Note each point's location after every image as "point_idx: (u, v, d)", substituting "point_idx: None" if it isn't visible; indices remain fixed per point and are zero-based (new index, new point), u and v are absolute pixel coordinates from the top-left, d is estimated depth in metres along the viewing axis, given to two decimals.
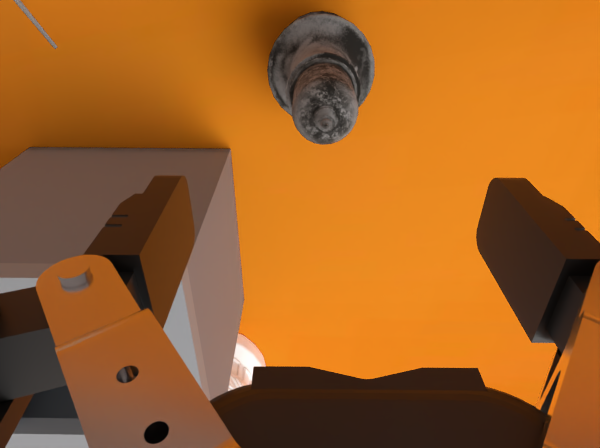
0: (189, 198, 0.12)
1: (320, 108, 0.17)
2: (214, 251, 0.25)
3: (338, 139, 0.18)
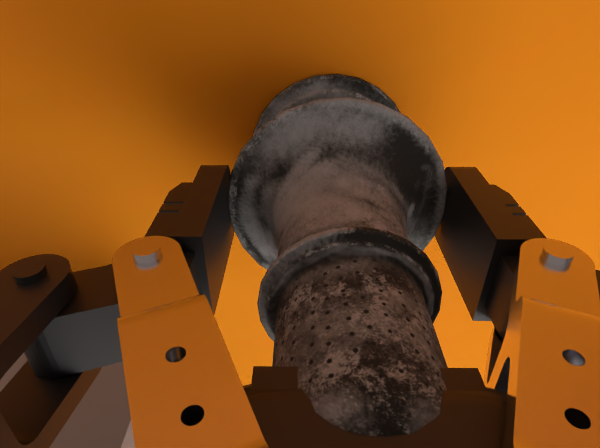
0: None
1: None
2: None
3: None
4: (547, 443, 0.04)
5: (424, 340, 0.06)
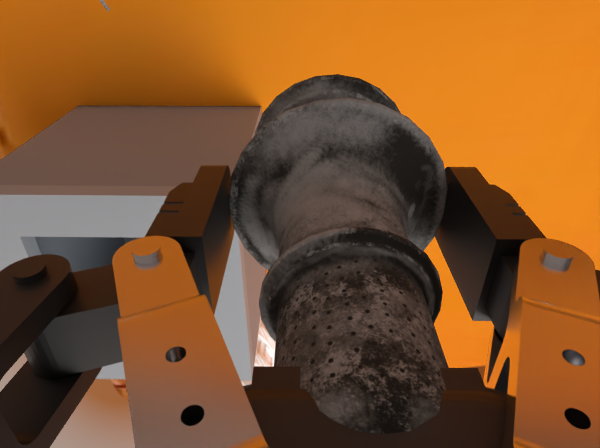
0: None
1: None
2: None
3: None
4: (547, 443, 0.04)
5: (425, 340, 0.06)
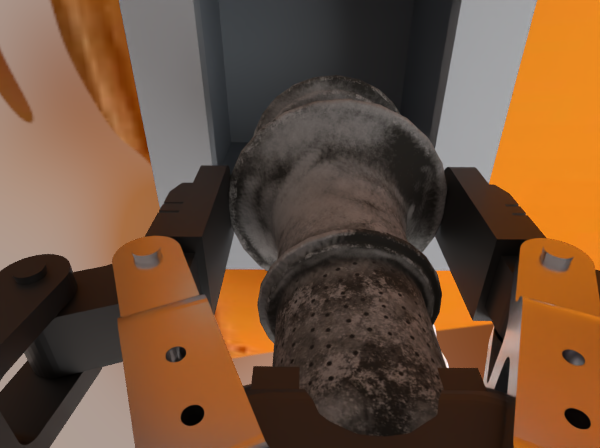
0: None
1: None
2: None
3: None
4: (547, 443, 0.04)
5: (424, 342, 0.06)
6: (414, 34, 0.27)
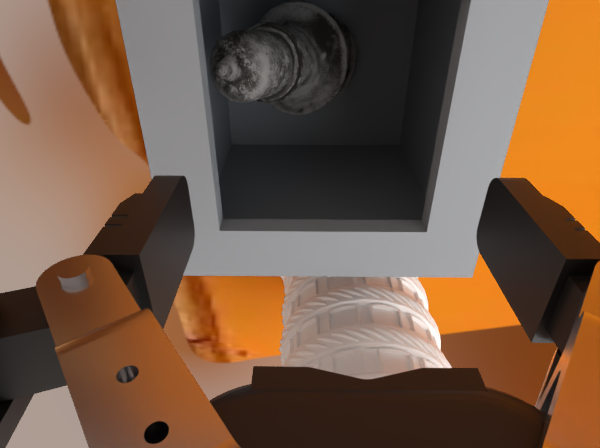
0: (189, 198, 0.12)
1: (224, 57, 0.17)
2: None
3: (249, 96, 0.18)
4: None
5: (268, 39, 0.18)
6: (418, 35, 0.26)
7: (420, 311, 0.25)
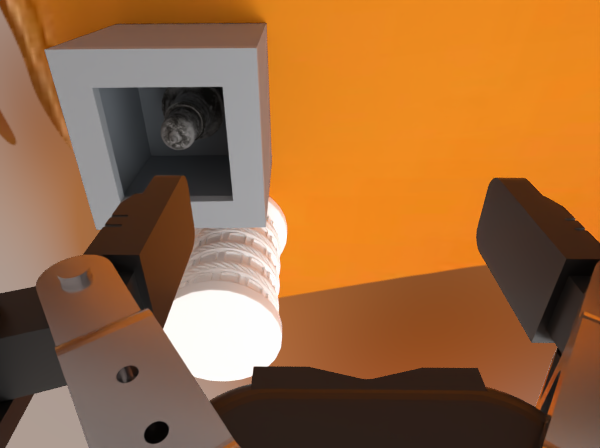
0: (189, 198, 0.12)
1: (171, 132, 0.34)
2: (263, 74, 0.36)
3: (186, 147, 0.35)
4: None
5: (188, 116, 0.35)
6: None
7: (259, 256, 0.41)
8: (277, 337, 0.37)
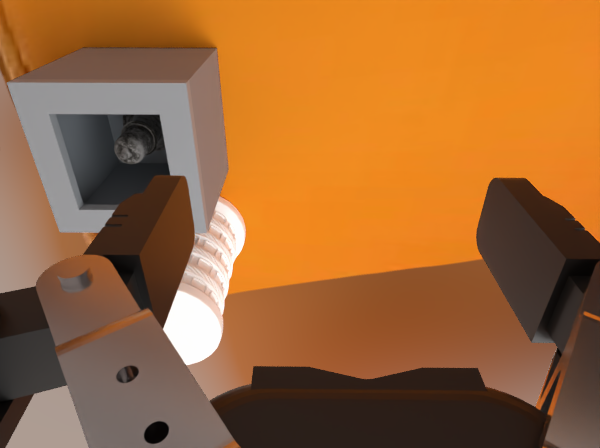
0: (189, 198, 0.12)
1: (122, 149, 0.39)
2: (205, 98, 0.40)
3: (137, 162, 0.41)
4: None
5: (139, 134, 0.40)
6: None
7: (207, 256, 0.46)
8: (216, 328, 0.43)
